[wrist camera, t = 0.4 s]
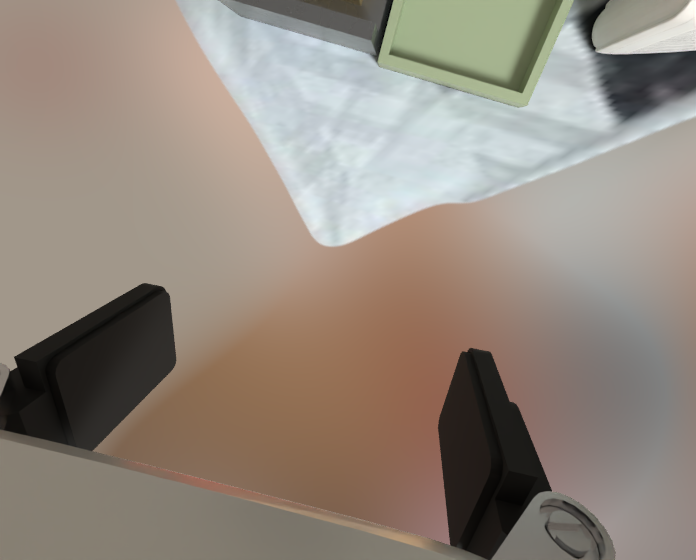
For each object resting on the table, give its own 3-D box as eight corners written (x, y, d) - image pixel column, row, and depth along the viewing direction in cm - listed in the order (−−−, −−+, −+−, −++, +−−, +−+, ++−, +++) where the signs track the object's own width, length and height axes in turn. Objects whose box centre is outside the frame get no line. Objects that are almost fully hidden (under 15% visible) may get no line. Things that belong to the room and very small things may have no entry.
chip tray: (418, -82, 28) (419, -101, 26) (581, -37, 28) (597, -52, 26) (379, 66, 33) (377, 61, 31) (518, 107, 33) (526, 105, 30)
